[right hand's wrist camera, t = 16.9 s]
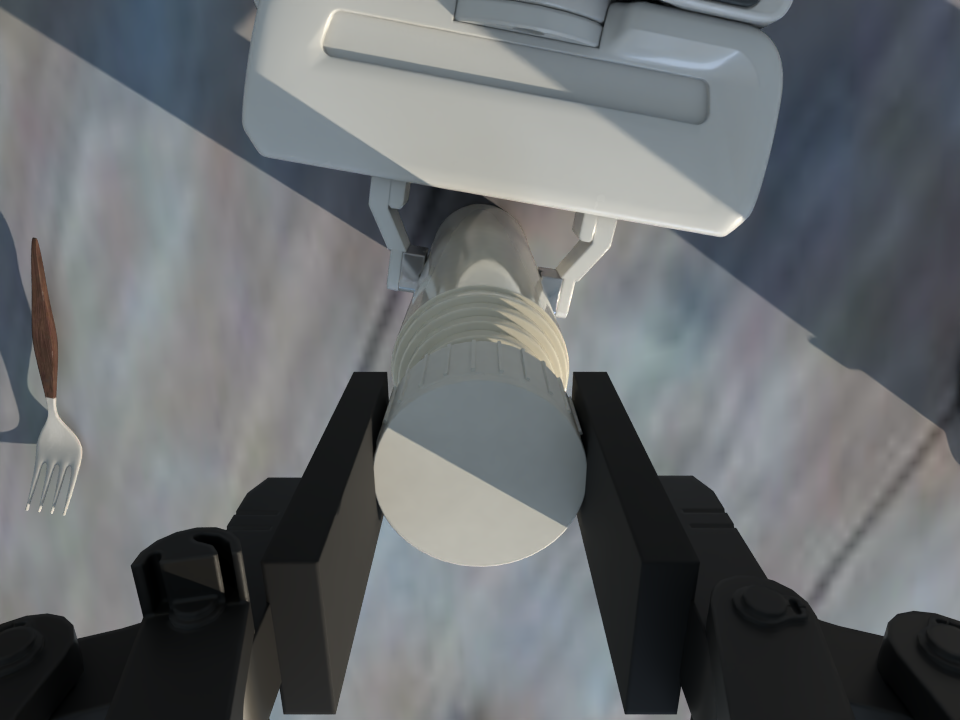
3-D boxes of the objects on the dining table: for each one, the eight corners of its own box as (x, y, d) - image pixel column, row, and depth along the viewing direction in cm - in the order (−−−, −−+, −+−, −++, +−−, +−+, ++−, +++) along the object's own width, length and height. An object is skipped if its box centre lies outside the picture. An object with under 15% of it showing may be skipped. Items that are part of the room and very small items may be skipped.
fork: (66, 240, 33) (42, 247, 31) (87, 497, 39) (67, 516, 37) (15, 232, 33) (-13, 239, 31) (44, 491, 39) (21, 510, 37)
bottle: (474, 183, 32) (464, 300, 12) (547, 246, 33) (653, 454, 13) (413, 257, 34) (309, 479, 13) (485, 316, 35) (492, 603, 14)
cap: (353, 459, 15) (332, 516, 13) (439, 302, 14) (432, 336, 11) (514, 534, 16) (519, 599, 14) (611, 392, 14) (634, 440, 12)
